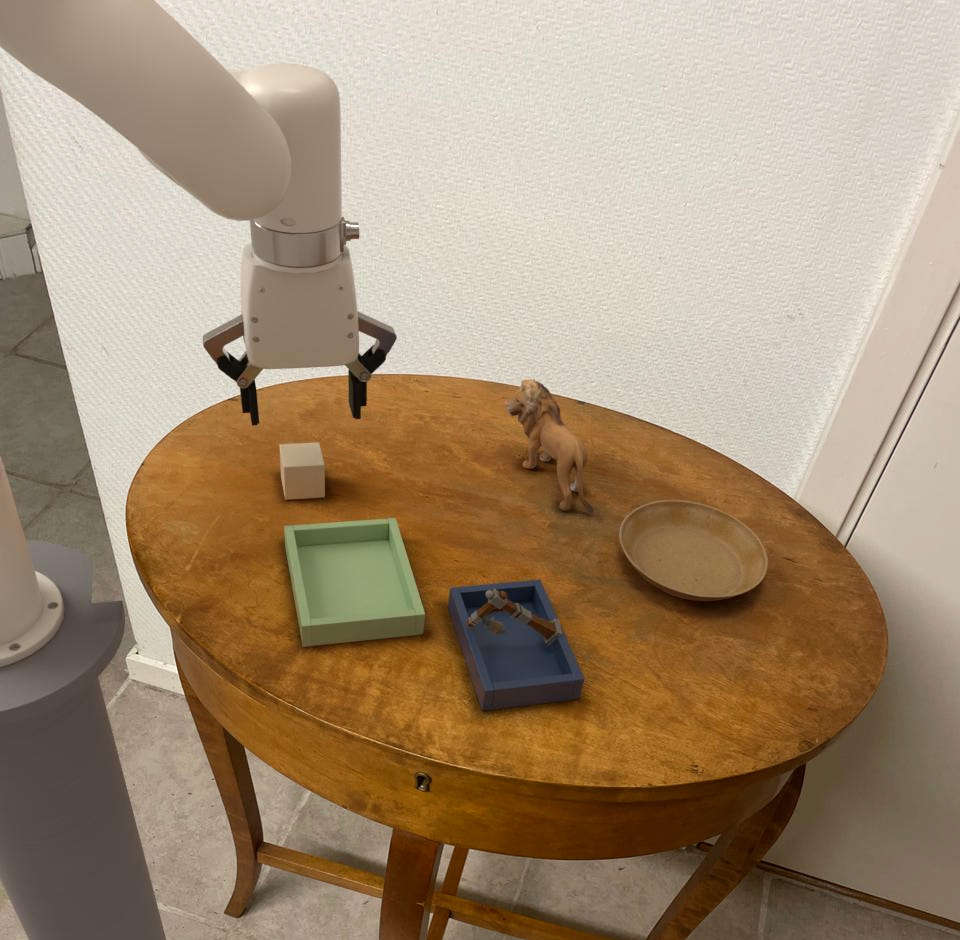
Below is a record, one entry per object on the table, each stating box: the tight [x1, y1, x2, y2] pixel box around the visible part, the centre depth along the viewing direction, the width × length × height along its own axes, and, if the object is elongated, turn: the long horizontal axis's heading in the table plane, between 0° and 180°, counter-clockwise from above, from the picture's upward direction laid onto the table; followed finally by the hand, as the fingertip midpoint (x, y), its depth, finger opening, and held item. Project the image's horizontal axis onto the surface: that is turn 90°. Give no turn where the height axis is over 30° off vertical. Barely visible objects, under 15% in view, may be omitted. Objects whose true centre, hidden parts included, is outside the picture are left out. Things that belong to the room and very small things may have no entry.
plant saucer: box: [618, 499, 769, 602], centre depth 94 cm, size 15×15×3 cm
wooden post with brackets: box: [466, 589, 562, 646], centre depth 81 cm, size 2×8×4 cm
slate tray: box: [447, 579, 585, 712], centre depth 83 cm, size 9×13×2 cm
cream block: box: [279, 442, 326, 501], centre depth 96 cm, size 4×4×4 cm
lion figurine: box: [504, 378, 596, 514], centre depth 100 cm, size 15×5×9 cm, turn 35°
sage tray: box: [283, 517, 426, 648], centre depth 86 cm, size 11×14×2 cm
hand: (305, 414), depth 91 cm, fingers open, 9 cm apart
